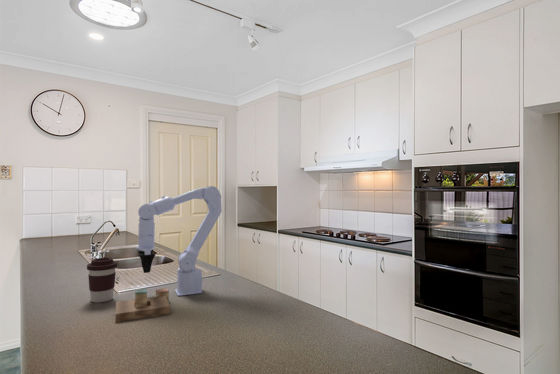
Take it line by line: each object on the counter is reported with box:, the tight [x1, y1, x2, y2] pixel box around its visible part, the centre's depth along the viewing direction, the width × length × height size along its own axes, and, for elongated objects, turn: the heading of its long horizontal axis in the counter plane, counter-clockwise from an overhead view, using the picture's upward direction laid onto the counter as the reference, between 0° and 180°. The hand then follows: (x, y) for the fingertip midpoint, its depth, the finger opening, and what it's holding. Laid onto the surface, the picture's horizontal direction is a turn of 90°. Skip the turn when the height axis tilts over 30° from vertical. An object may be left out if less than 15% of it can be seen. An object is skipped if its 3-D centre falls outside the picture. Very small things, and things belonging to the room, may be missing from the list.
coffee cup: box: [86, 257, 118, 304], centre depth 121 cm, size 10×10×15 cm
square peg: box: [134, 288, 148, 308], centre depth 109 cm, size 4×4×7 cm
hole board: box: [115, 296, 171, 323], centre depth 109 cm, size 16×12×2 cm
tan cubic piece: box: [155, 287, 170, 303], centre depth 120 cm, size 4×4×4 cm
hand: (146, 270), depth 125 cm, fingers open, 7 cm apart
